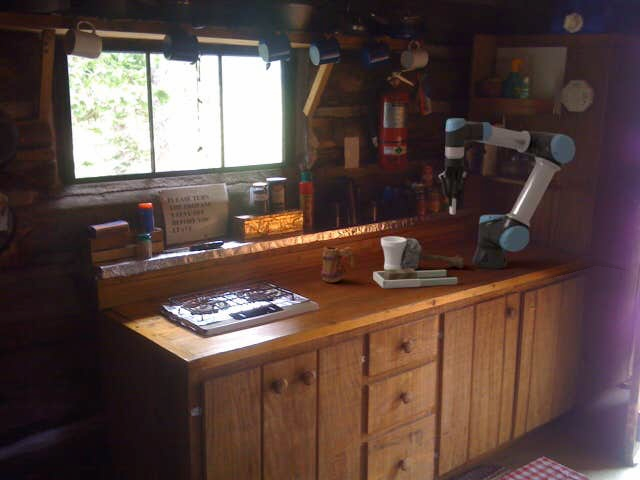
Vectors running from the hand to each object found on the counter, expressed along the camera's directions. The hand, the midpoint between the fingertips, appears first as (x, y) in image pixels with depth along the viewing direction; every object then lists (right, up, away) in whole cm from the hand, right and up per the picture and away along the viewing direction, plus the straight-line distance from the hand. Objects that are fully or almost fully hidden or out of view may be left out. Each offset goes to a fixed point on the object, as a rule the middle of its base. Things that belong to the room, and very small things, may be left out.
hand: (452, 213), depth 289 cm
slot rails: (-8, -28, +2) cm, 29 cm away
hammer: (-6, -24, +18) cm, 31 cm away
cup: (-23, -25, +15) cm, 37 cm away
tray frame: (-23, -28, -2) cm, 37 cm away
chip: (-19, -28, -1) cm, 34 cm away
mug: (-48, -28, -2) cm, 56 cm away
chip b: (-25, -29, -2) cm, 38 cm away
